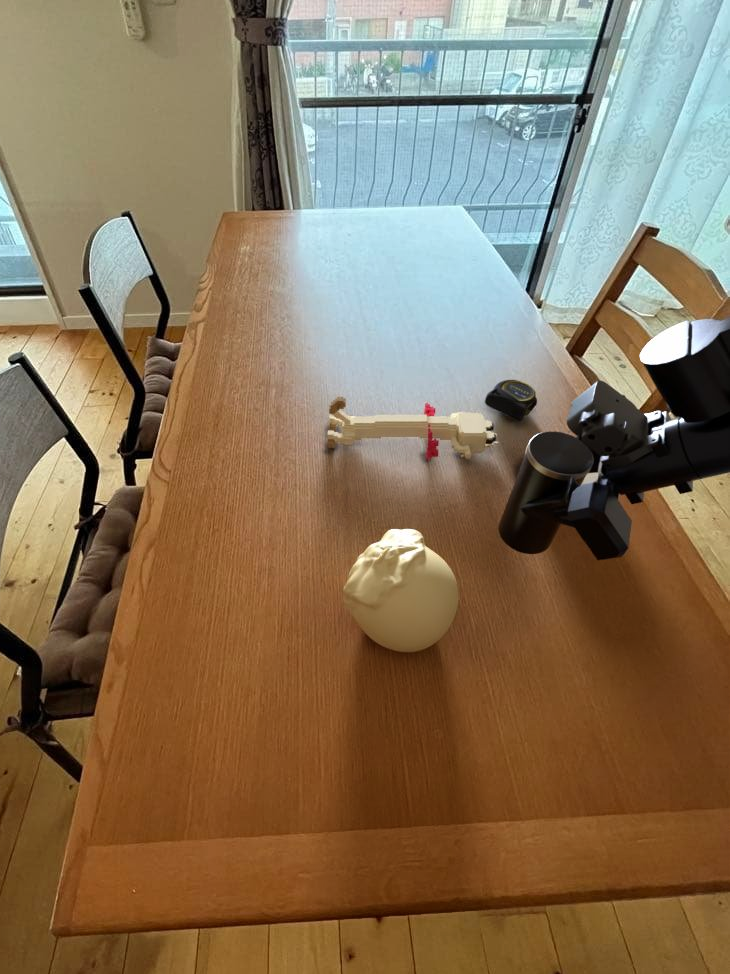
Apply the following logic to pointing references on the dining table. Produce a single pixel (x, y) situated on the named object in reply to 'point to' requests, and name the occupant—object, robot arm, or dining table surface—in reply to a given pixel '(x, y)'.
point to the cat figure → (414, 429)
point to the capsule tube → (542, 488)
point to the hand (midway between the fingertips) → (529, 490)
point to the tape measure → (512, 399)
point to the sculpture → (402, 592)
